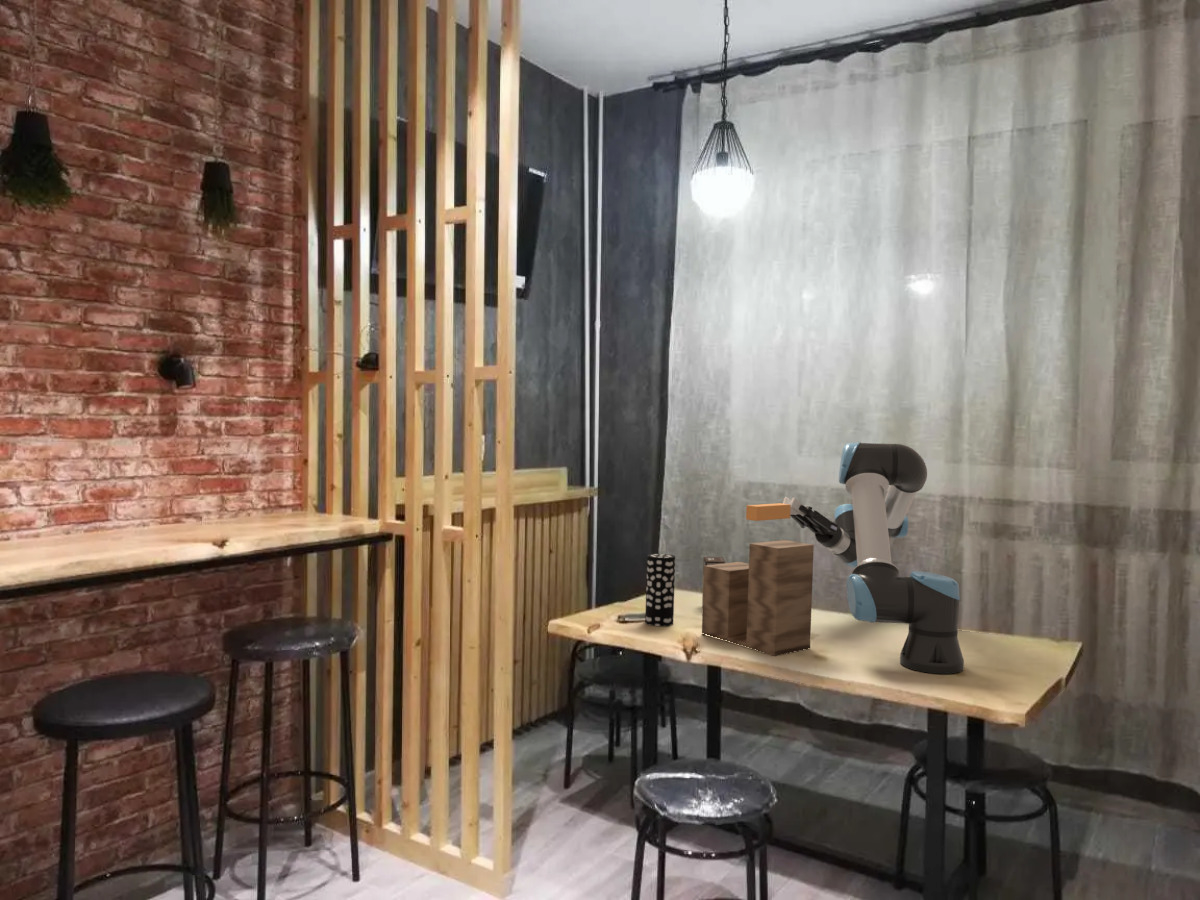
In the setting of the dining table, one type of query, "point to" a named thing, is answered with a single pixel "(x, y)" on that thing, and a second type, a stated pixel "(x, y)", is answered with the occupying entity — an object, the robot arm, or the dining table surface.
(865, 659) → the dining table surface
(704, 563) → the coffee box
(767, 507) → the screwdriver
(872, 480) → the robot arm
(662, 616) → the white-spotted black cylinder
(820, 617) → the dining table surface
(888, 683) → the dining table surface
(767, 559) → the stepped wooden block
